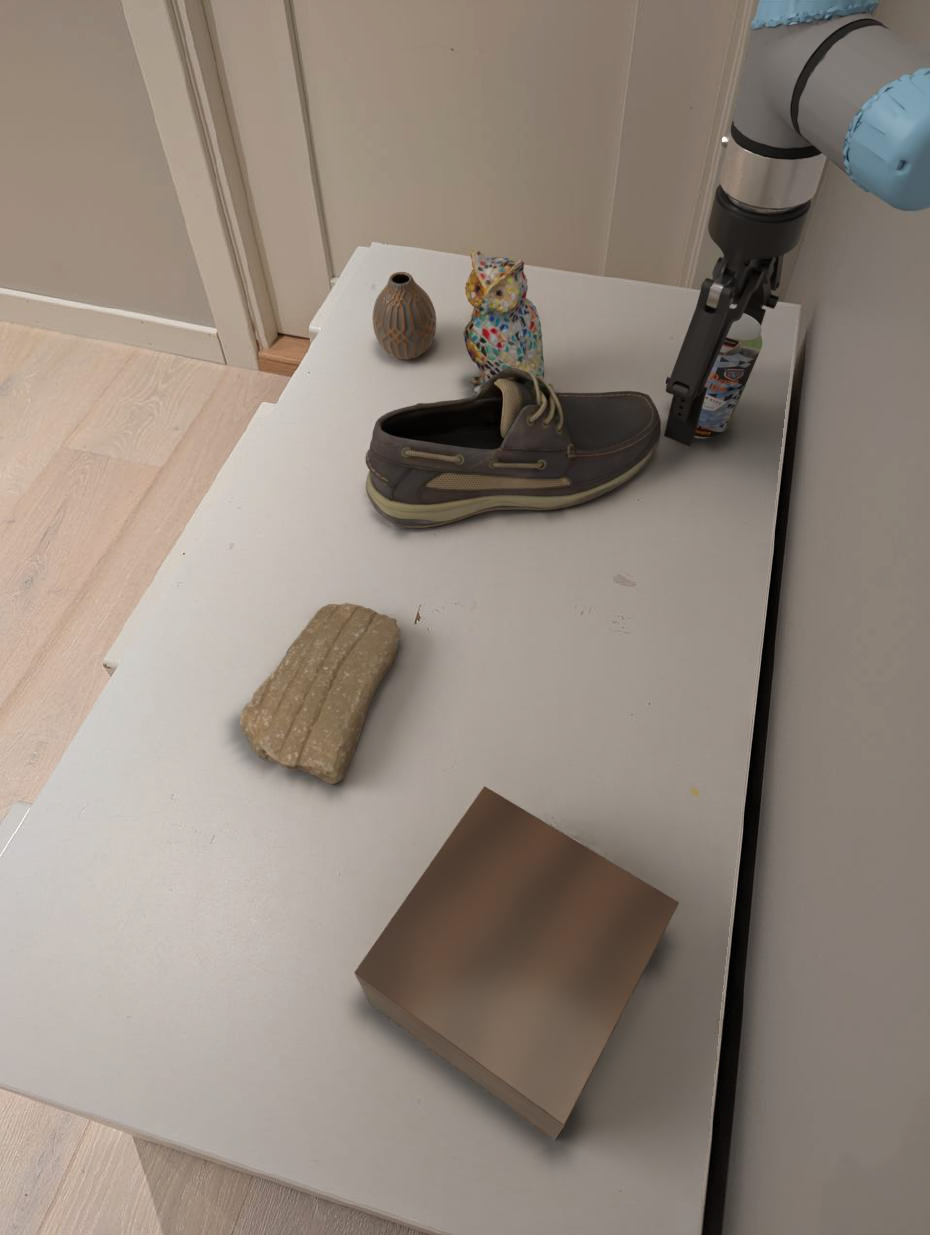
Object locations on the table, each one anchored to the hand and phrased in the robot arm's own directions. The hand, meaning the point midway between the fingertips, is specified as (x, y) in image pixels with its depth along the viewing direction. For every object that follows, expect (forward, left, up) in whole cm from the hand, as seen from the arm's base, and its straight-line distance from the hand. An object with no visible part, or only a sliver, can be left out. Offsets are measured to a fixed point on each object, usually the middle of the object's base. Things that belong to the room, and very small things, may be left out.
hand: (707, 399), depth 86 cm
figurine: (+20, +6, -3) cm, 21 cm away
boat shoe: (+12, +17, -3) cm, 21 cm away
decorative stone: (+12, +46, -3) cm, 48 cm away
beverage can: (0, 0, -3) cm, 3 cm away
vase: (+33, +6, -3) cm, 34 cm away
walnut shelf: (-12, +56, -3) cm, 58 cm away
